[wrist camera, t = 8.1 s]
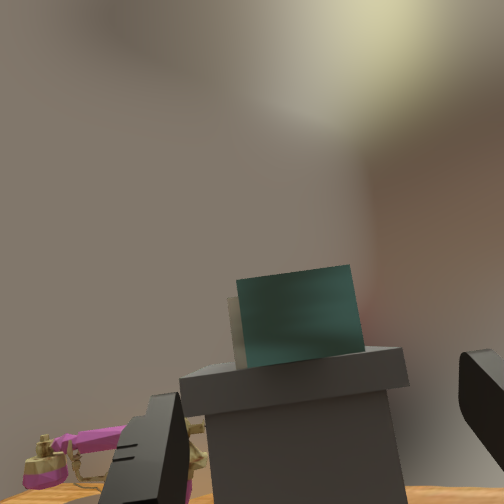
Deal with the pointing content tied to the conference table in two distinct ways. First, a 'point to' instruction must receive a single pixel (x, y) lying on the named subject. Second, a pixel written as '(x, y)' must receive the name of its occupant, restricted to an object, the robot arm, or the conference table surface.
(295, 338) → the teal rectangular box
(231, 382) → the pedestal
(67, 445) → the telephone
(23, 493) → the conference table surface
